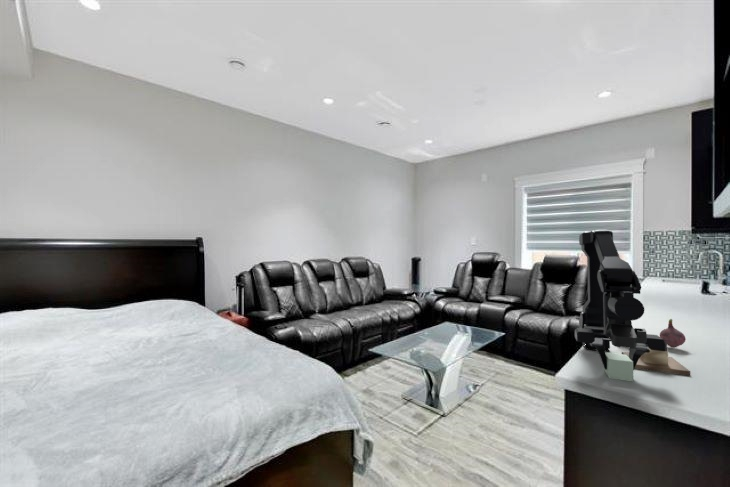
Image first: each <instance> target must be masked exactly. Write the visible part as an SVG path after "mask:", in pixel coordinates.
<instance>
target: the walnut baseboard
mask: <svg viewBox="0 0 730 487" xmlns="http://www.w3.org/2000/svg"><path fill="white" fill-rule="evenodd" d="M621 354H624V355H627V356H628V357H629V351H621ZM635 369H636V370H644V371H650V372H651V371H652V372H657V373H658V372H660V373H667V374H676V375H682V376H683V375H684V376H688V377H689V376H691V370H689V368H687V367H685V366H684V365H683V364H681V363H680V362H679V361H677V359H676V358H673V357H672V356H668V365H662V364H653V363H645V362H644V361H643V360H642V359H641V358H639V360H638V362H637V364H636V366H635V368H634V370H635Z"/></svg>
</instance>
